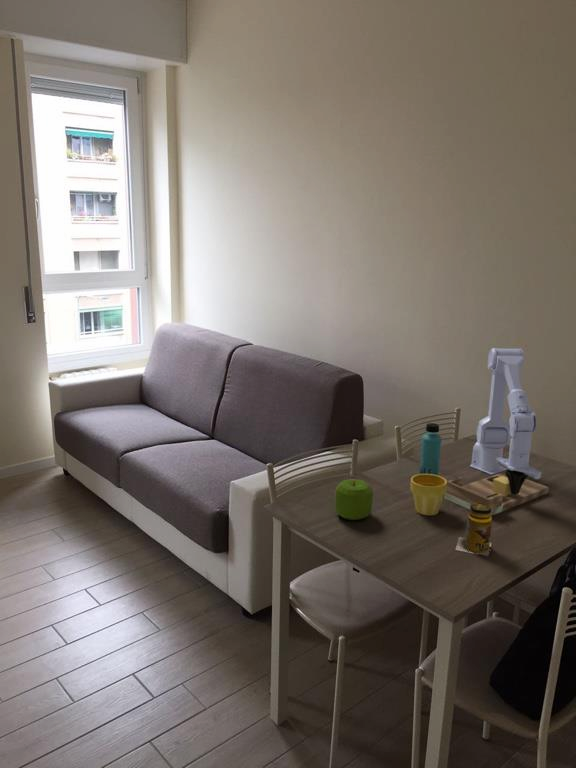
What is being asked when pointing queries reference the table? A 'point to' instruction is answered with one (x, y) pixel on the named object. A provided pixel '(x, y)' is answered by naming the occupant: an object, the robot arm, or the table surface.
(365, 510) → the apple
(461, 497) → the trap board
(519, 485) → the robot arm
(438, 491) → the plant pot
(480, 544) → the condiment
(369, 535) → the table surface
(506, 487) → the mustard block
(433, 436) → the beverage bottle
